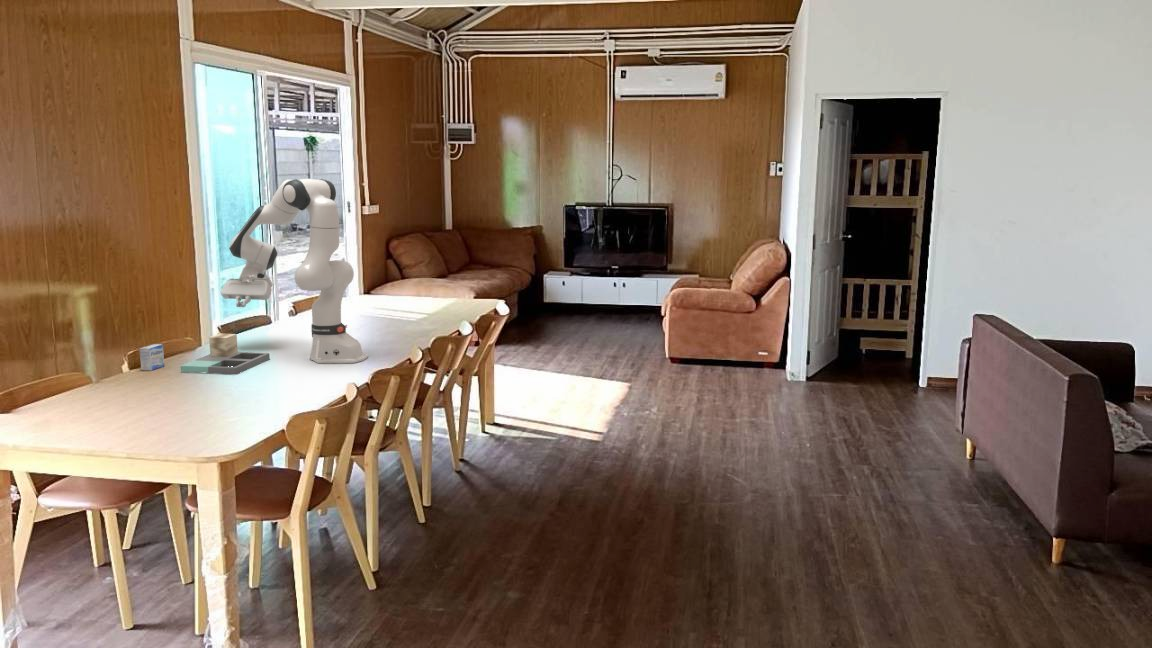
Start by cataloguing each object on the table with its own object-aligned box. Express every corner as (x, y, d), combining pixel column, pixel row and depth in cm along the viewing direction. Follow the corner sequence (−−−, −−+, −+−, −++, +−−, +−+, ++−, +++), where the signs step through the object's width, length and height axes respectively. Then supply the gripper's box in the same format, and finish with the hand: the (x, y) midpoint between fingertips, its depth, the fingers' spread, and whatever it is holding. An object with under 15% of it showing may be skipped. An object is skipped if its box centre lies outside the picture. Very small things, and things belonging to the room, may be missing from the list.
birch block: (237, 352, 354) (236, 334, 352) (227, 356, 346) (225, 337, 345) (221, 351, 355) (220, 333, 353) (210, 356, 347) (209, 337, 346)
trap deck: (269, 359, 353) (269, 353, 353) (235, 374, 328) (235, 368, 328) (218, 357, 356) (218, 351, 356) (181, 372, 331) (180, 365, 331)
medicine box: (151, 371, 333) (149, 348, 331) (140, 370, 334) (139, 347, 332) (165, 366, 340) (163, 344, 339) (154, 365, 341) (152, 343, 340)
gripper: (224, 274, 368) (213, 300, 360) (270, 275, 365) (260, 302, 357) (230, 283, 373) (219, 309, 365) (276, 284, 370) (266, 311, 362)
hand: (240, 306), depth 361 cm, fingers closed
